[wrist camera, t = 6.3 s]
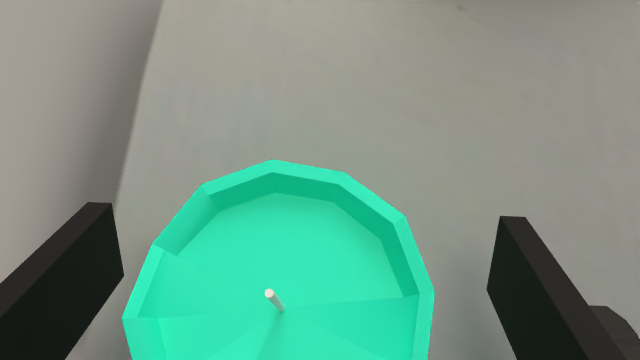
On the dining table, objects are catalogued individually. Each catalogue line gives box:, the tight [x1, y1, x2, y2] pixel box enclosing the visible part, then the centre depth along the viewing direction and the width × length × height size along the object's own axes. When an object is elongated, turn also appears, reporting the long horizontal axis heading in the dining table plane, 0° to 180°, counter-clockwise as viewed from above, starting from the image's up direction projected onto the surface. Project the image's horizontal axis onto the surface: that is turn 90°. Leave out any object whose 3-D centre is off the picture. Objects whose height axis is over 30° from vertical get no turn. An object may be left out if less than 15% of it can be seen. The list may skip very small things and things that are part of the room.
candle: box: [121, 159, 435, 360], centre depth 13 cm, size 6×6×12 cm
